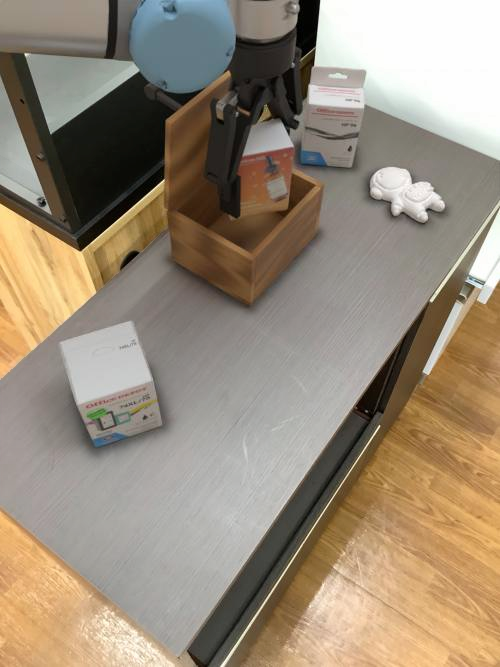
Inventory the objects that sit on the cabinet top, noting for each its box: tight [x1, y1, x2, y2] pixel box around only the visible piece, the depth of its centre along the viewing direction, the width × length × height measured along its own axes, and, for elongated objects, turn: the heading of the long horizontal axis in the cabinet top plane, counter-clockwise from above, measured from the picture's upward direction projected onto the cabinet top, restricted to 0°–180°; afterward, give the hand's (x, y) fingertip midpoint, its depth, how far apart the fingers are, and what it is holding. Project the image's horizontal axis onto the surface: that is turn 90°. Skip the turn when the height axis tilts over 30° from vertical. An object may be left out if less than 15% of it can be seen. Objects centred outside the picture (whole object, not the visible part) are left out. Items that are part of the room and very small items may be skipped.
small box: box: [228, 118, 295, 221], centre depth 78 cm, size 8×6×10 cm
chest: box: [166, 167, 326, 308], centre depth 87 cm, size 14×17×10 cm
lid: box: [144, 69, 250, 211], centre depth 79 cm, size 15×17×9 cm
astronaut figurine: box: [369, 166, 446, 224], centre depth 96 cm, size 9×12×3 cm
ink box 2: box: [300, 65, 367, 169], centre depth 96 cm, size 8×5×15 cm, turn 86°
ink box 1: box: [58, 320, 163, 449], centre depth 72 cm, size 8×8×12 cm
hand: (253, 189), depth 81 cm, fingers closed on small box, 9 cm apart
